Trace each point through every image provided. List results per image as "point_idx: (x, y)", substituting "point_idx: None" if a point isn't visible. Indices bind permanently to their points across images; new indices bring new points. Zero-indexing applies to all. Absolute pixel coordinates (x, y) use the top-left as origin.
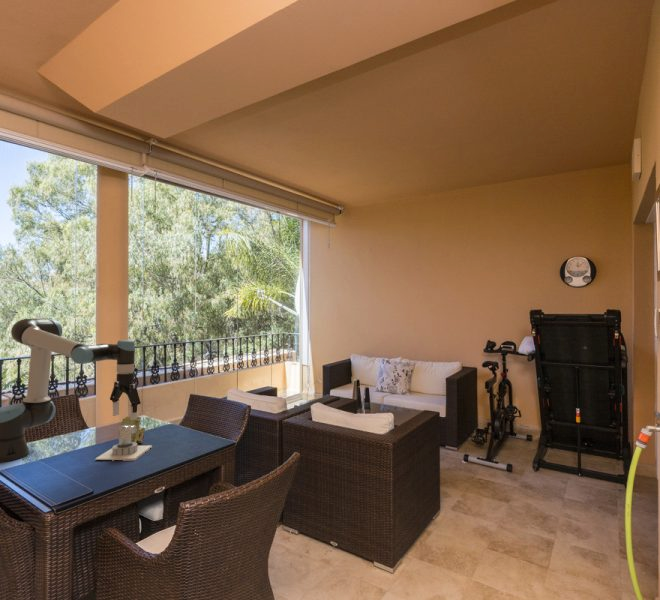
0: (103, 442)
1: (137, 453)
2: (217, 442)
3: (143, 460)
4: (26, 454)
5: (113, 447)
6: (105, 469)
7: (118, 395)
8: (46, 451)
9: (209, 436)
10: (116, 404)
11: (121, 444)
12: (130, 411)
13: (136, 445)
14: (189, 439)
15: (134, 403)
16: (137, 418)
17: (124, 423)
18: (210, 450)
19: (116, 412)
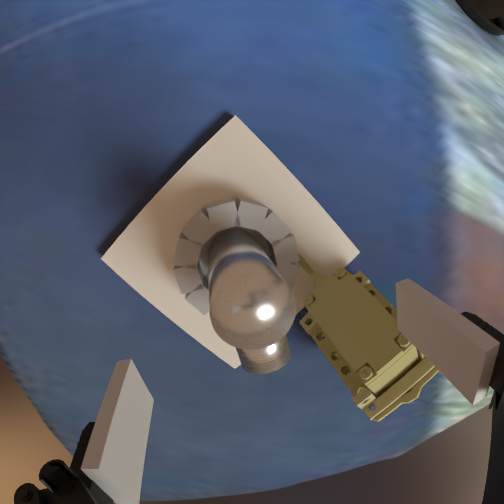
0: (450, 233)
1: (163, 290)
2: None
3: (84, 283)
4: (467, 11)
5: (246, 207)
6: (82, 126)
7: (499, 464)
8: (476, 62)
9: (213, 494)
10: (462, 362)
11: (221, 245)
12: (111, 416)
13: (198, 309)
14: (228, 463)
15: (32, 498)
16: (376, 406)
17: (376, 332)
18: (73, 452)
19: (412, 320)
